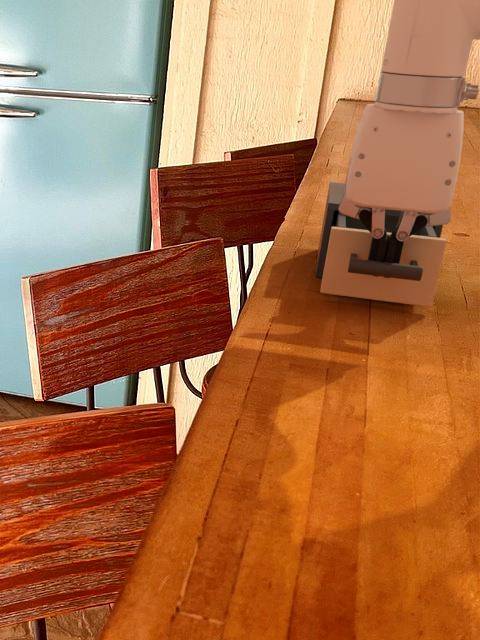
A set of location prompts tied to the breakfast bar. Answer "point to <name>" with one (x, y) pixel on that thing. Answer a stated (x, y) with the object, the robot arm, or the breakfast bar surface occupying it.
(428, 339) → the breakfast bar surface
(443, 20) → the robot arm
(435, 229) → the cabinet
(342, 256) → the drawer
